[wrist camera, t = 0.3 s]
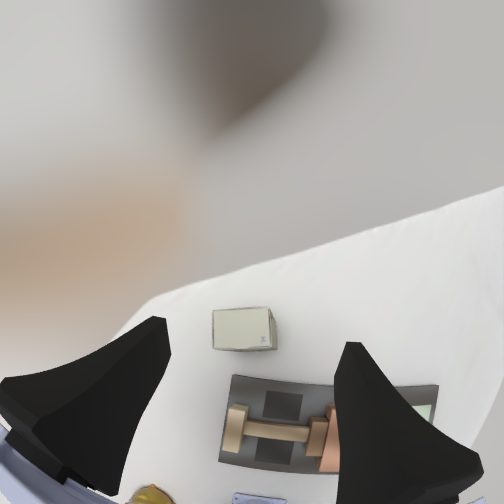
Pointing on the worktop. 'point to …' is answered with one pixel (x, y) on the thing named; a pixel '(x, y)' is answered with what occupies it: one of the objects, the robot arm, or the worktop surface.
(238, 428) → the tan wooden brick
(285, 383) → the plate
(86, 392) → the robot arm
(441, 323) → the worktop surface
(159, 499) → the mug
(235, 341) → the skincare box
